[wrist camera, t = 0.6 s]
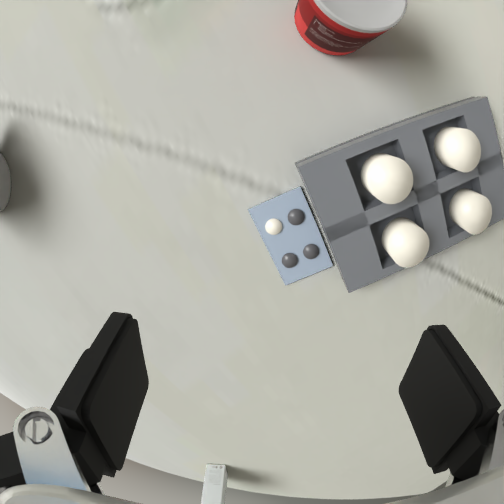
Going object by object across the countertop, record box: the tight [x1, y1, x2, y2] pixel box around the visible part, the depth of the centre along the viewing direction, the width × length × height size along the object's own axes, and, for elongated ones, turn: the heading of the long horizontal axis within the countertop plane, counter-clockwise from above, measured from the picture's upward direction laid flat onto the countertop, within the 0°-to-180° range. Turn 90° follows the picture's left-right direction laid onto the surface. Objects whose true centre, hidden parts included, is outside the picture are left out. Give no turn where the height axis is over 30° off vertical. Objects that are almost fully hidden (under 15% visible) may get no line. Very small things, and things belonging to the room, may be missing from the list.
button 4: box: [449, 188, 492, 235], centre depth 28 cm, size 4×4×3 cm
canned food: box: [294, 0, 407, 55], centre depth 20 cm, size 8×8×11 cm
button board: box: [248, 97, 504, 293], centre depth 31 cm, size 30×15×3 cm, turn 116°
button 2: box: [382, 217, 429, 268], centre depth 30 cm, size 4×4×3 cm
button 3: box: [434, 126, 481, 172], centre depth 25 cm, size 4×4×3 cm
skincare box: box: [201, 464, 228, 504], centre depth 52 cm, size 6×4×12 cm
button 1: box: [361, 153, 413, 204], centre depth 27 cm, size 4×4×3 cm
